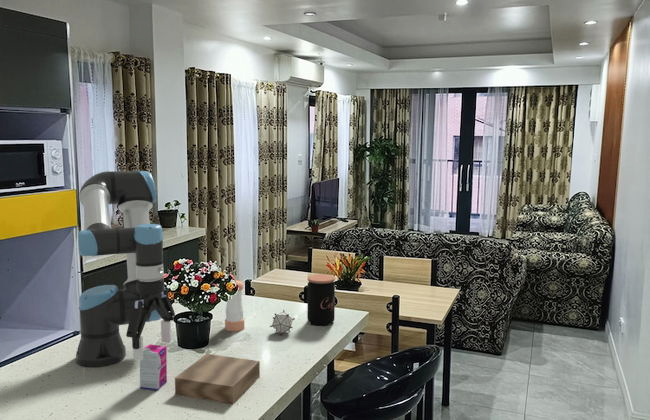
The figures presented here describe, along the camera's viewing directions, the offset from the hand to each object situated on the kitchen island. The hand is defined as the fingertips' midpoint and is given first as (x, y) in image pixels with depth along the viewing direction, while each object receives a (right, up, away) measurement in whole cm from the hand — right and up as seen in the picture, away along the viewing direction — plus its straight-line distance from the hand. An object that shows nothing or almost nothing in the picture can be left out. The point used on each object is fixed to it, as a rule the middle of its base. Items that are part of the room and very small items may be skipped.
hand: (152, 350), depth 159 cm
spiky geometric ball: (+34, -5, +45) cm, 57 cm away
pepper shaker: (+16, -5, +50) cm, 52 cm away
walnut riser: (+19, -11, +2) cm, 22 cm away
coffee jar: (+48, -4, +58) cm, 75 cm away
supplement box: (0, -11, +2) cm, 11 cm away
